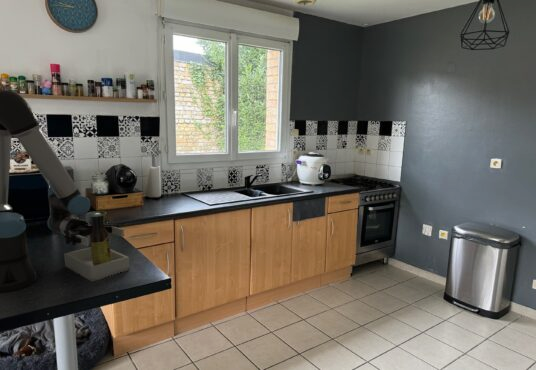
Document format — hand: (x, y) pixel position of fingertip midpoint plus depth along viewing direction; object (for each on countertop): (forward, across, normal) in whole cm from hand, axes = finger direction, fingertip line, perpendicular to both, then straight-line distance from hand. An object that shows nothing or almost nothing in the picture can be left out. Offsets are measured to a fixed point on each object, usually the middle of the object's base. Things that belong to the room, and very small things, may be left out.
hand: (106, 237), depth 134 cm
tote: (-8, 0, -14) cm, 16 cm away
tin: (-32, -14, -14) cm, 37 cm away
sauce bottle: (-3, 0, -13) cm, 13 cm away
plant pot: (-58, -30, -14) cm, 66 cm away
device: (-84, -28, -14) cm, 90 cm away
